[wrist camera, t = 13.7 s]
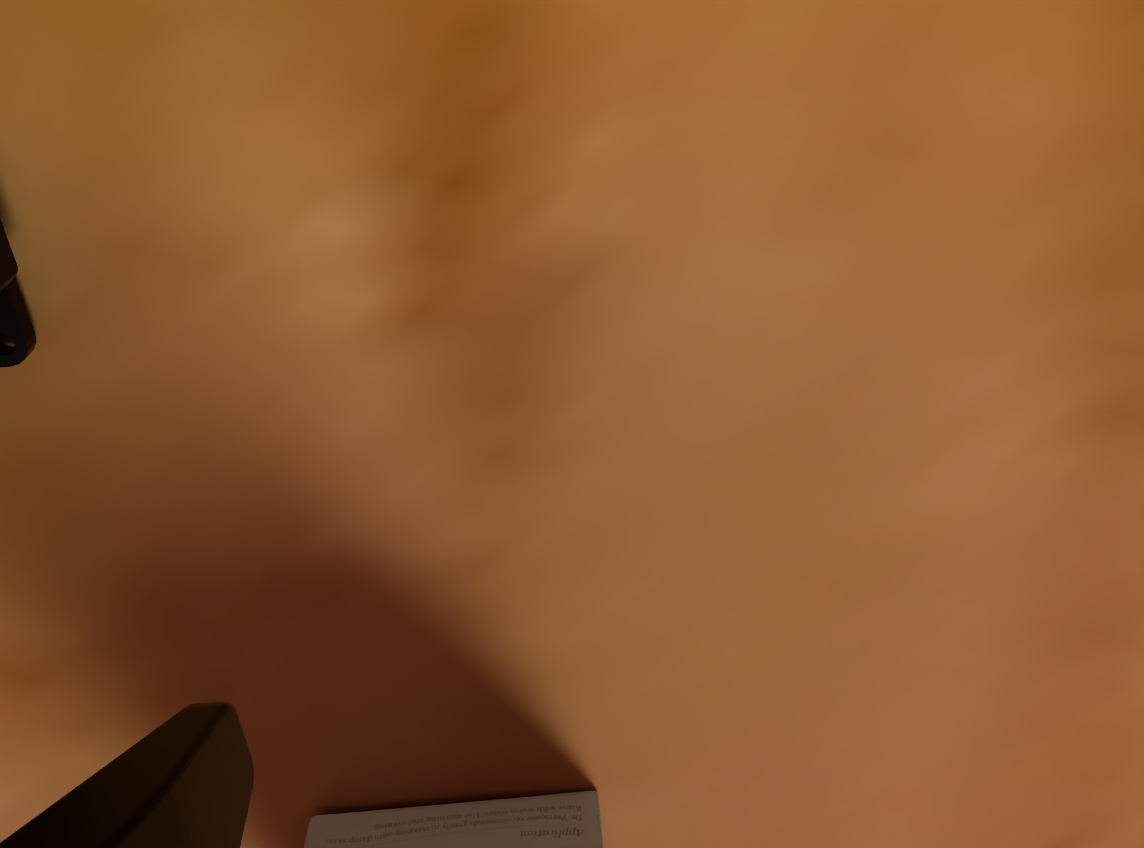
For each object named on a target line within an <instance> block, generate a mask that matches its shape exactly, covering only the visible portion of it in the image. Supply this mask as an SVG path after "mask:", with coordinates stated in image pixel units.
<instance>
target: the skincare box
mask: <svg viewBox="0 0 1144 848" xmlns="http://www.w3.org/2000/svg"><path fill="white" fill-rule="evenodd" d="M304 848H605V846H604V838H603V829H602V821H601V813H600V805H599V797H598V793H597V792H596V791H583V792H572V793H562V794H552V795H542V796H532V797H520V798H508V799H497V800H486V801H475V802H464V803H453V804H441V805H430V806H419V807H407V808H396V809H384V810H373V811H364V812H353V813H341V814H327V815H315V816H312V818H311V819H310V822H309V825H308V829H307V834H306V838H305V843H304Z"/></svg>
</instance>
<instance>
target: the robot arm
mask: <svg viewBox="0 0 1144 848" xmlns="http://www.w3.org/2000/svg"><path fill="white" fill-rule="evenodd" d="M17 271H18V267H17V264H16V261H15V258H14V255H13V253H12V250H11V247H10V244H9V242H8V239H7V236H6V233H5V231H4V228H3V225H2V222H1V220H0V333H5V334H6V335H8V336H9V337H11V339H12V340H13V342H14V344H15V347H13V346H8V345H6V344H4V343H3V342H1V340H0V367H10V366H14V365H18V364H20V363H21V362H22V361H23V360H24V359H25V358H26V357H27V356H28V355H29V354H30V353H31V352H32V351H33V350H34V347H35V345H36V336H35V332H34V329H33V326H32V323H31V321H30V318H29V315H28V313H27V310H26V307H25V304H24V302H23V299H22V296H21V294H20V291H19V288H18V285H17V283H16V280H15V277H14V276H15V274H16V273H17ZM253 779H254V770H253V762H252V758H251V754H250V751H249V748H248V745H247V742H246V739H245V736H244V733H243V730H242V727H241V724H240V721H239V718H238V714H237V712H236V710H235V708H234V707H233V705H231V704H230V703H228V702H213V703H198V704H191V705H189V706H187V707H186V708H184V709H183V710H181V711H180V712H178V713H177V714H176V715H174V716H173V717H172V718H170V719H169V720H167V721H166V722H165V723H163V724H162V725H161V726H159V727H158V728H157V729H155V730H154V731H152V732H151V733H150V734H148V735H147V736H146V737H144V738H143V739H142V740H140V741H139V742H137V743H136V744H135V745H133V746H132V747H131V748H129V749H128V750H127V751H125V752H124V753H122V754H121V755H120V756H118V757H117V758H116V759H114V760H113V761H111V762H110V763H109V764H107V765H106V766H105V767H103V768H102V769H101V770H99V771H98V772H96V773H95V774H94V775H92V776H91V777H90V778H88V779H87V780H86V781H84V782H83V783H81V784H80V785H79V786H77V787H76V788H75V789H73V790H72V791H71V792H69V793H68V794H66V795H65V796H64V797H62V798H61V799H60V800H58V801H57V802H55V803H54V804H53V805H51V806H50V807H49V808H47V809H46V810H45V811H43V812H42V813H40V814H39V815H38V816H36V817H35V818H34V819H32V820H31V821H30V822H28V823H27V824H25V825H24V826H23V827H21V828H20V829H19V830H17V831H16V832H15V833H13V834H12V835H10V836H9V837H8V838H6V839H5V840H4V841H2V842H1V843H0V848H240V845H241V840H242V835H243V831H244V826H245V821H246V817H247V812H248V808H249V803H250V798H251V794H252V788H253Z"/></svg>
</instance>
